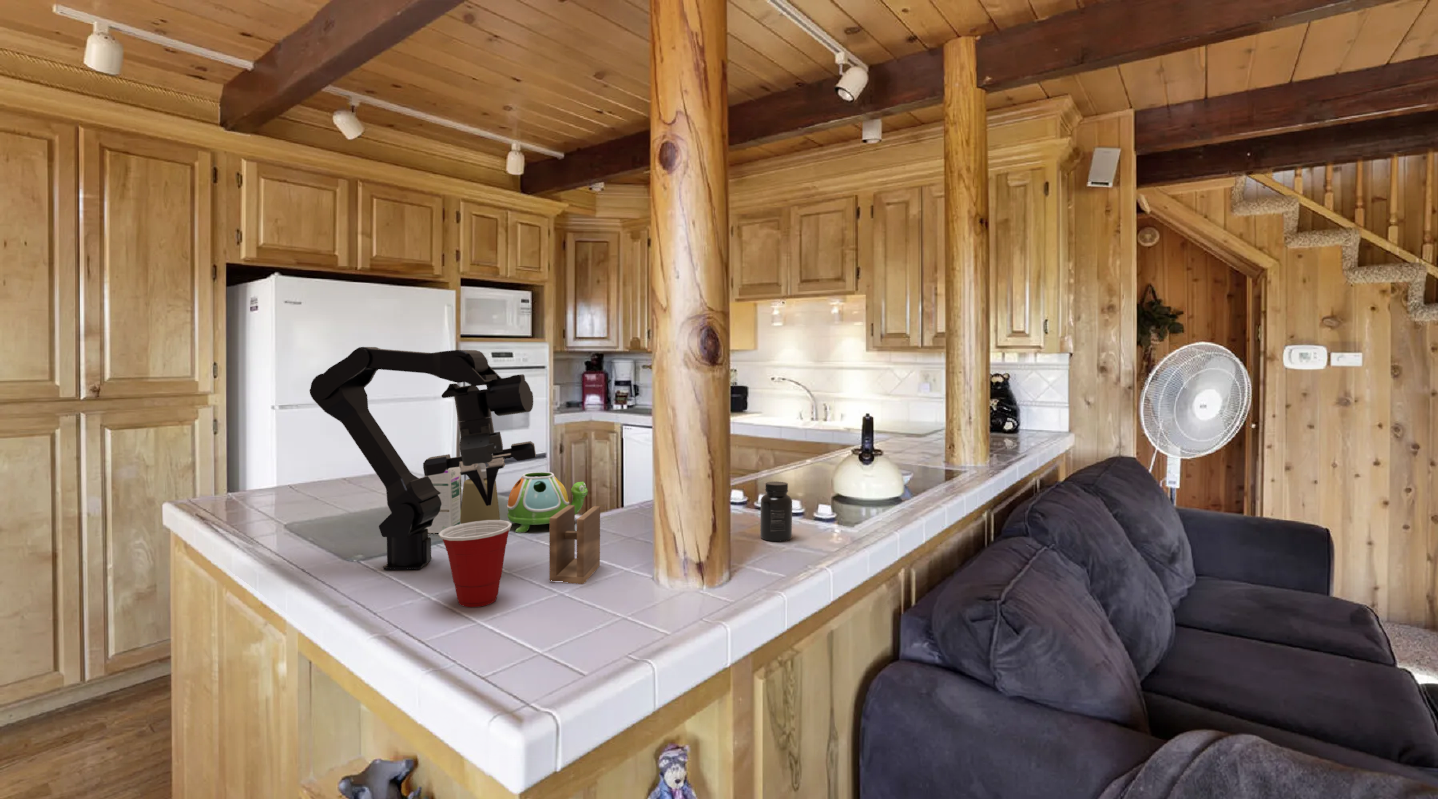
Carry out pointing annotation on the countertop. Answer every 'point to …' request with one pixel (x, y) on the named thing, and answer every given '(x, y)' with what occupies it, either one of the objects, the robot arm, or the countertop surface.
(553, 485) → the turtle holder
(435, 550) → the countertop surface
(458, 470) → the syrup box
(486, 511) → the squeeze bottle
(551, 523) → the wooden napkin holder
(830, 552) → the countertop surface
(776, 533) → the supplement bottle
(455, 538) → the plastic cup
